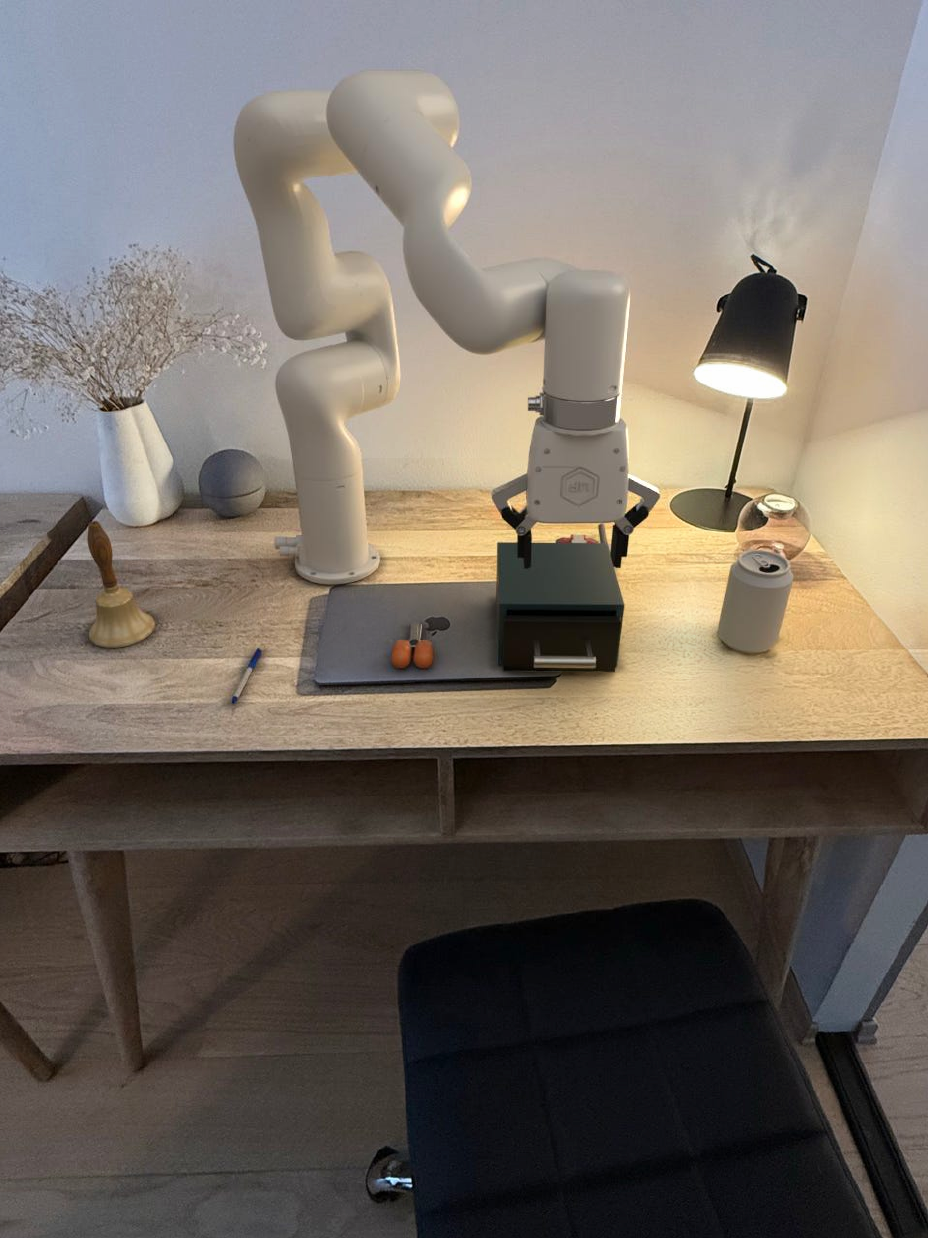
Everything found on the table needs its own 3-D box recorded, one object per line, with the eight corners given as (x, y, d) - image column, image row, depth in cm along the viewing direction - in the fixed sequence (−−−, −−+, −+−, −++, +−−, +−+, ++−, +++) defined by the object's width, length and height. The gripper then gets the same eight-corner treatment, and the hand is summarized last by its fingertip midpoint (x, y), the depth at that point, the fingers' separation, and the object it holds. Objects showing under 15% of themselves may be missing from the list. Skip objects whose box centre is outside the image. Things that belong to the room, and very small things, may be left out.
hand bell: (168, 619, 111) (142, 512, 103) (128, 653, 105) (97, 542, 96) (117, 608, 114) (87, 503, 105) (75, 641, 107) (40, 532, 98)
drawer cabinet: (616, 667, 102) (624, 604, 97) (497, 666, 102) (499, 603, 97) (601, 601, 115) (608, 542, 110) (495, 600, 115) (497, 541, 110)
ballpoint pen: (255, 652, 105) (254, 645, 104) (262, 652, 105) (261, 646, 104) (231, 704, 96) (229, 698, 96) (238, 705, 96) (237, 698, 96)
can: (744, 663, 103) (764, 581, 96) (704, 633, 108) (719, 553, 102) (788, 647, 106) (810, 566, 99) (747, 619, 111) (765, 540, 105)
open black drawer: (620, 697, 96) (627, 646, 92) (503, 696, 96) (505, 645, 92) (601, 609, 112) (606, 561, 108) (500, 608, 112) (502, 560, 108)
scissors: (432, 672, 101) (432, 656, 100) (390, 672, 102) (389, 656, 100) (436, 629, 109) (435, 614, 108) (397, 628, 109) (396, 613, 108)
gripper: (492, 422, 77) (492, 580, 87) (677, 420, 77) (657, 579, 86) (491, 397, 84) (490, 546, 93) (662, 395, 83) (644, 545, 93)
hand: (570, 562), depth 90 cm, fingers open, 9 cm apart
